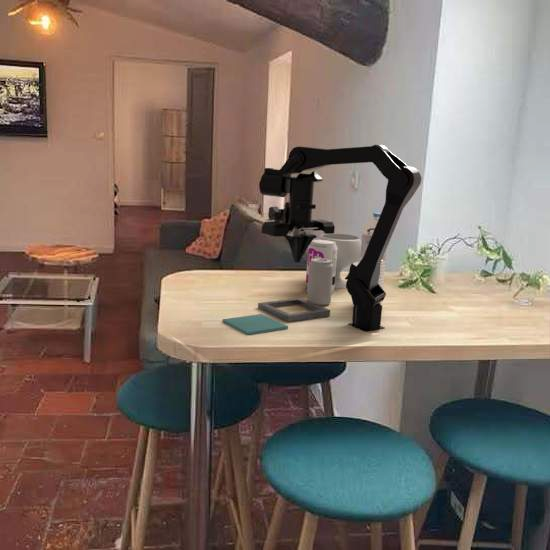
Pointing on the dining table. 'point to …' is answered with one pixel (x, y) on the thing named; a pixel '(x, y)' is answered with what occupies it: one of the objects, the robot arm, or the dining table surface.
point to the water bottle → (366, 237)
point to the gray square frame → (314, 313)
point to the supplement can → (322, 255)
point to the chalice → (344, 253)
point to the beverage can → (320, 281)
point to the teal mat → (255, 324)
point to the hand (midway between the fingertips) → (296, 262)
